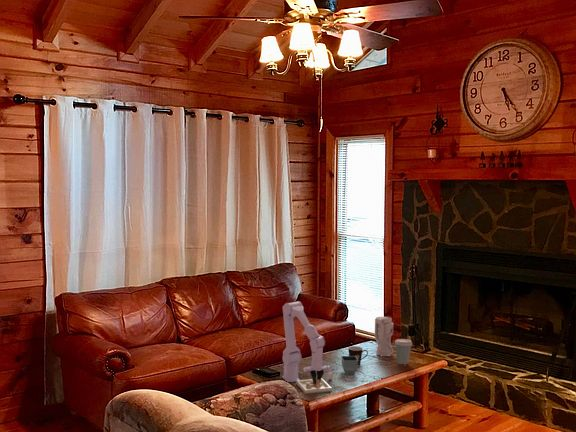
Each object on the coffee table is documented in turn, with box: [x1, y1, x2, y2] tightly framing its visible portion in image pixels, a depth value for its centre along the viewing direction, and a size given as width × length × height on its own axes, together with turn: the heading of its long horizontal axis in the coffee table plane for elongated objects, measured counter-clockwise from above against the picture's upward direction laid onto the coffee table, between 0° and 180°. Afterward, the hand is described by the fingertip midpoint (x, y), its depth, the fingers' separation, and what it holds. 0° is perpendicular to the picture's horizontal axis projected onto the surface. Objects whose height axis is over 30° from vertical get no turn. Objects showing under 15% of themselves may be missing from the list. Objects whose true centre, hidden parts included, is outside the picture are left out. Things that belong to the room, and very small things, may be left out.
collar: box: [306, 378, 323, 389], centre depth 332 cm, size 10×7×4 cm
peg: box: [327, 372, 333, 381], centre depth 346 cm, size 2×2×4 cm
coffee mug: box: [347, 345, 369, 366], centre depth 374 cm, size 12×9×10 cm
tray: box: [296, 377, 333, 395], centre depth 334 cm, size 15×15×2 cm
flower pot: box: [340, 355, 359, 375], centre depth 358 cm, size 9×9×9 cm
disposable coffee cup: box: [394, 338, 413, 365], centre depth 377 cm, size 11×11×15 cm
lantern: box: [374, 316, 395, 357], centre depth 393 cm, size 13×10×25 cm
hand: (316, 383), depth 330 cm, fingers closed on collar
